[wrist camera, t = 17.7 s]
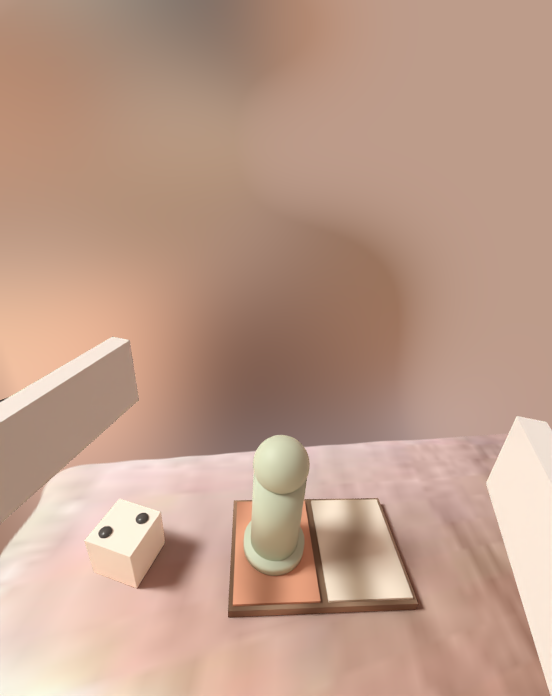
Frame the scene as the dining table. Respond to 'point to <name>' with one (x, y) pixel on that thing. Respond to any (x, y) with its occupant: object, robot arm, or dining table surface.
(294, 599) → the board
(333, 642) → the dining table surface
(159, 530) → the die
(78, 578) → the dining table surface
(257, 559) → the pawn
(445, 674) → the dining table surface
